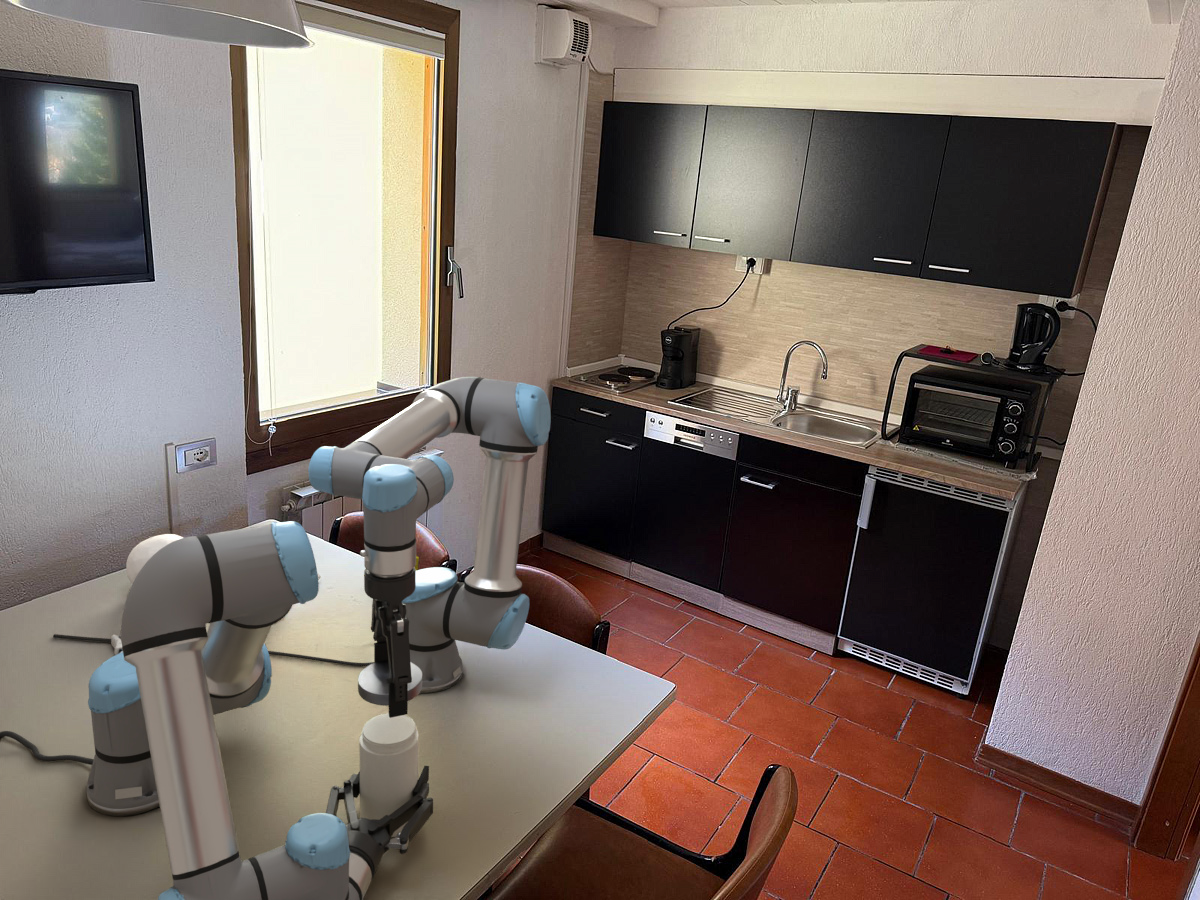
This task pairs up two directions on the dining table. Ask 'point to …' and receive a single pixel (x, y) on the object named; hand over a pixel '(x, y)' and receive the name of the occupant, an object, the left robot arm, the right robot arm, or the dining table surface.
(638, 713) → the dining table surface
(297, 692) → the dining table surface
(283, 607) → the left robot arm
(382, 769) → the jar
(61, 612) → the dining table surface
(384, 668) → the lid
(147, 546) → the skull
